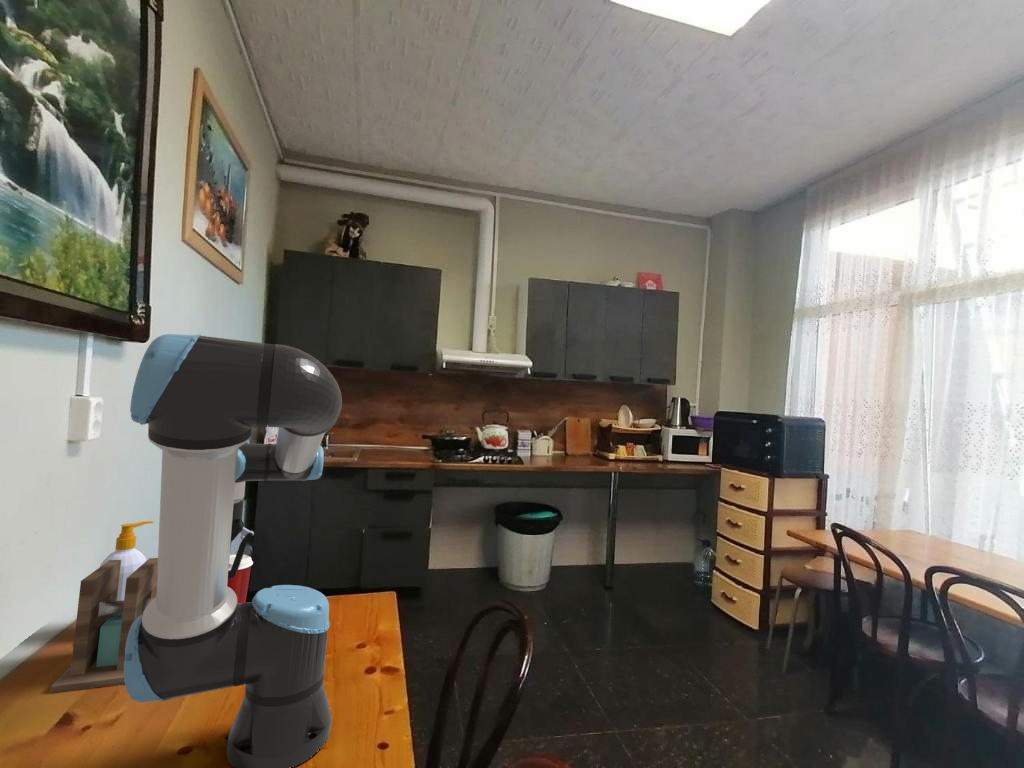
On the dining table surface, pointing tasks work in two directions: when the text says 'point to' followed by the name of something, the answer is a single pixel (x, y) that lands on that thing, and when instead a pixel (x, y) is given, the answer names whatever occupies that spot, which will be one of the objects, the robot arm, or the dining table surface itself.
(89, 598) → the block
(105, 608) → the shaft
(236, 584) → the coffee cup
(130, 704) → the dining table surface
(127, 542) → the soap bottle
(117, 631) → the spacer
